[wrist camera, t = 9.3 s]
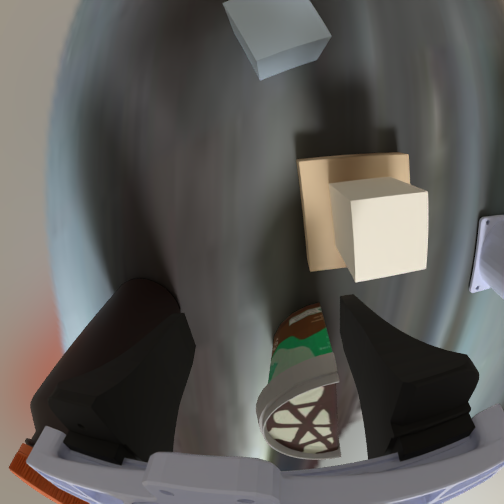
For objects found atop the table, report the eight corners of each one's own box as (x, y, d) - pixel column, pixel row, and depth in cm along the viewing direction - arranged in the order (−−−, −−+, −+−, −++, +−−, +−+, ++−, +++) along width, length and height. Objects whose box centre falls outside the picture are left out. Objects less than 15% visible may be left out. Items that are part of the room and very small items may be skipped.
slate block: (289, 13, 15) (294, -21, 10) (316, 60, 17) (331, 36, 12) (234, 33, 16) (222, 3, 11) (260, 80, 18) (256, 61, 12)
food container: (246, 300, 24) (232, 390, 15) (317, 287, 23) (338, 375, 14) (273, 390, 29) (271, 468, 20) (329, 381, 28) (341, 459, 19)
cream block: (389, 176, 18) (427, 191, 13) (392, 236, 19) (426, 268, 14) (328, 183, 18) (350, 201, 13) (335, 245, 20) (355, 282, 15)
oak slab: (394, 151, 19) (408, 154, 17) (396, 246, 22) (408, 258, 20) (295, 159, 20) (298, 161, 18) (306, 258, 23) (310, 271, 21)
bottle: (126, 332, 27) (36, 491, 9) (111, 274, 24) (-25, 439, 6) (186, 339, 27) (118, 532, 8) (177, 278, 24) (59, 499, 6)
